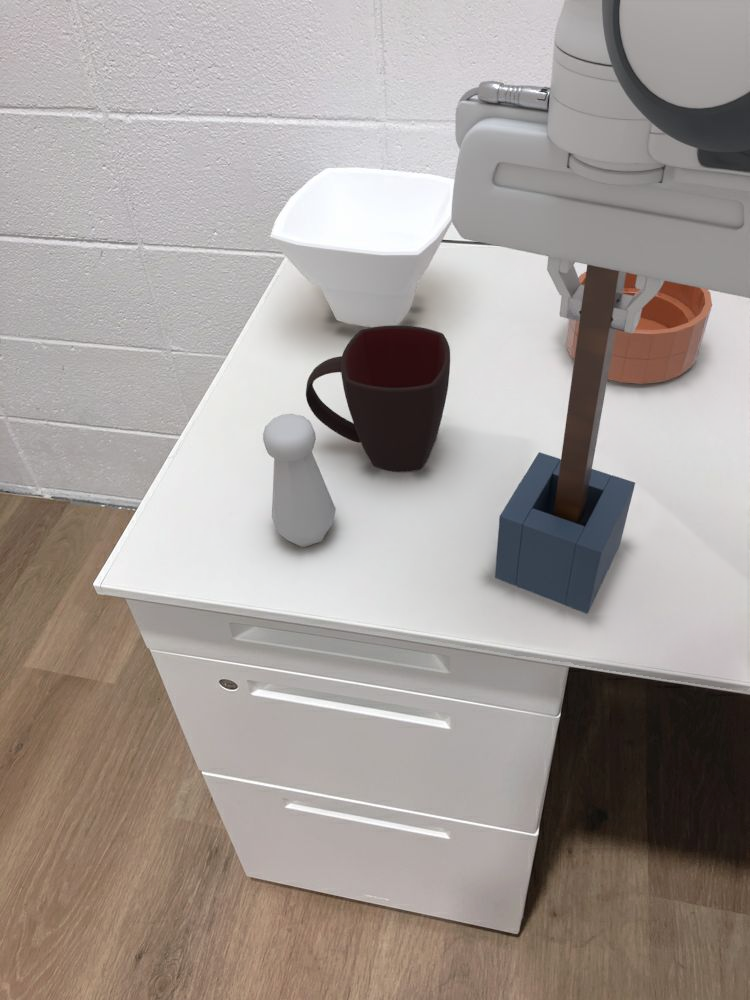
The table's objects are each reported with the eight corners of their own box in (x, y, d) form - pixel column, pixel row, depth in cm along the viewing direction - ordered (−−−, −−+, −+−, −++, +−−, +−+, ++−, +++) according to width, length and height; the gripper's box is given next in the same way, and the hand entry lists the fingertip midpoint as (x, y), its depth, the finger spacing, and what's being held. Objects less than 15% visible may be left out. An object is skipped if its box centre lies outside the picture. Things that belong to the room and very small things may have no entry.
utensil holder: (619, 545, 71) (635, 482, 66) (587, 614, 67) (601, 552, 61) (531, 514, 75) (538, 451, 69) (494, 577, 70) (499, 516, 64)
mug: (444, 490, 77) (444, 393, 69) (304, 480, 80) (287, 384, 71) (453, 423, 84) (455, 326, 75) (325, 415, 86) (312, 320, 78)
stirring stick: (584, 514, 66) (630, 248, 49) (575, 530, 65) (620, 263, 48) (561, 506, 67) (598, 242, 50) (552, 522, 66) (587, 257, 49)
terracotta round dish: (710, 330, 93) (726, 276, 88) (676, 402, 84) (690, 347, 79) (590, 301, 98) (598, 249, 93) (546, 366, 90) (552, 313, 85)
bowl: (429, 370, 91) (428, 258, 81) (273, 345, 96) (254, 237, 86) (470, 283, 103) (473, 176, 92) (330, 265, 108) (318, 162, 98)
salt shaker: (346, 515, 76) (333, 409, 67) (324, 560, 72) (307, 455, 63) (290, 502, 78) (269, 398, 68) (265, 546, 74) (240, 441, 64)
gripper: (431, 96, 45) (435, 310, 55) (829, 149, 37) (749, 388, 47) (479, 59, 48) (474, 265, 58) (849, 100, 40) (771, 331, 50)
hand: (599, 320), depth 52 cm, fingers closed on stirring stick, 2 cm apart
